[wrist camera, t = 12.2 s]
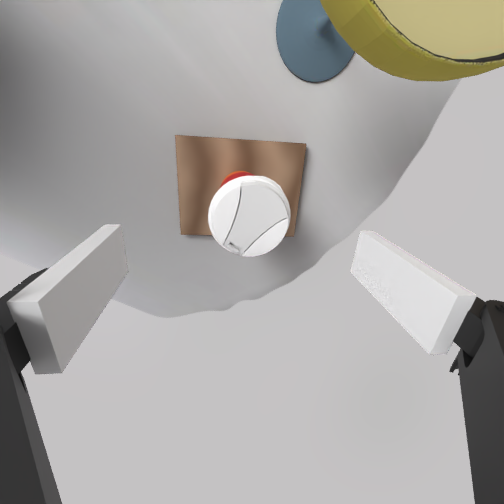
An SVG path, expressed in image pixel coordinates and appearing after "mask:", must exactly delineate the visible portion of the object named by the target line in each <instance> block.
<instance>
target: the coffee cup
mask: <svg viewBox="0 0 504 504" xmlns="http://www.w3.org/2000/svg"><path fill="white" fill-rule="evenodd" d="M290 217H291V214H290V206H289V202H288V200H287V197H286V196H285V194H284V192H283V191H282V189H281V187H280V185H278V184H277V183H276V182H275V181H273V180H271V179H270V178H267V177H265V176H255V175H253V174H251V173H249V172H246V171H235V172H232V173H230V174H229V175H227V176H226V177H225V179H224V180H223V182H222V183H221V186H220V188H219V190H218V191H217V193H216V194H215V195H214V197H213V199H212V201H211V204H210V207H209V212H208V222H209V228H210V230H211V233H212V235H213V237H214V238H215V240H216V241H217V242H218V243H219V244H220V245H221V246H222V247H223V248H224V249H226V250H228V251H229V252H232V253H234V254H237V255H241V256H245V257H254V256H259V255H263V254H265V253H267V252H269V251H271V250H272V249H274V248H275V247H276V246H277V245H278V244H279V243H280V242H281V241H282V239H283V238H284V236H285V234H286V232H287V230H288V227H289V224H290Z"/></svg>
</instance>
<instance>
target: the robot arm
mask: <svg viewBox="0 0 504 504" xmlns="http://www.w3.org/2000/svg"><path fill="white" fill-rule="evenodd" d="M350 272H351V273H352V274H353V276H354V277H355V278H356V279H357V280H358V281H359V282H360V283H361V284H362V285H363V286H364V287H365V288H366V289H367V290H368V291H369V292H370V293H371V294H372V295H373V296H374V297H375V299H376V300H377V301H378V302H379V303H380V304H381V305H382V306H383V307H384V308H385V309H386V310H387V311H388V312H389V313H390V314H391V315H392V316H393V317H394V318H395V319H396V320H397V322H398V323H399V324H400V325H401V326H402V327H403V328H404V329H405V330H406V331H407V332H408V333H409V334H410V335H411V336H412V337H413V338H414V339H415V340H416V341H417V342H418V343H419V344H420V345H421V346H422V348H423V349H424V350H425V351H426V352H427V353H428V354H429V355H440V354H447V353H448V351H449V349H450V347H451V345H452V343H453V342H455V343H456V344H457V345H458V346H459V347H460V348H461V349H460V351H459V353H458V355H457V357H456V359H455V360H454V362H453V364H452V366H451V368H450V372H453V371H454V370H455V369H458V368H459V373H458V375H459V376H460V385H461V393H462V401H463V409H464V417H465V425H466V433H467V442H468V450H469V458H470V466H471V474H472V482H473V491H474V499H475V504H504V302H501V301H497V300H489V301H486V302H484V301H483V300H481V299H480V298H478V297H477V295H476V294H474V293H472V292H471V291H469V290H467V289H466V288H464V287H463V286H461V285H459V284H458V283H456V282H455V281H453V280H451V279H450V278H448V277H447V276H445V275H443V274H442V273H440V272H439V271H437V270H435V269H434V268H432V267H430V266H429V265H427V264H426V263H424V262H422V261H421V260H419V259H418V258H416V257H414V256H413V255H411V254H410V253H408V252H406V251H405V250H403V249H402V248H400V247H398V246H397V245H395V244H394V243H392V242H390V241H388V240H387V239H385V238H384V237H382V236H381V235H379V234H377V233H376V232H374V231H362V230H361V232H360V235H359V239H358V243H357V247H356V251H355V255H354V259H353V263H352V266H351V270H350ZM127 273H128V266H127V259H126V253H125V246H124V240H123V233H122V227H121V225H117V224H105V225H104V226H102V227H101V228H100V229H98V230H97V231H96V232H95V233H93V234H92V235H91V236H90V237H88V238H87V239H86V240H85V241H83V242H82V243H81V244H79V245H78V246H77V247H76V248H74V249H73V250H72V251H71V252H69V253H68V254H67V255H65V256H64V257H63V258H62V259H60V260H59V261H58V262H57V263H55V264H54V265H53V266H52V267H50V268H45V269H43V270H41V271H39V272H37V273H34V274H32V275H31V276H29V277H28V278H26V279H25V280H24V281H23V282H21V284H18V285H17V286H16V287H14V288H13V289H12V291H9V292H8V293H7V294H5V295H4V296H2V297H1V298H0V504H62V502H61V499H60V495H59V492H58V489H57V485H56V482H55V479H54V476H53V473H52V469H51V466H50V462H49V459H48V456H47V453H46V449H45V446H44V443H43V440H42V436H41V433H40V430H39V427H38V424H37V420H36V417H35V413H34V410H33V407H32V404H31V400H30V397H29V394H28V391H27V387H26V384H25V381H24V378H23V376H22V374H21V371H22V370H23V368H24V367H25V366H26V364H27V363H28V362H29V361H30V362H31V365H32V367H33V369H34V372H35V374H53V373H62V372H63V371H64V369H65V368H66V366H67V365H68V363H69V362H70V360H71V358H72V357H73V355H74V354H75V352H76V351H77V349H78V348H79V346H80V345H81V343H82V342H83V340H84V339H85V337H86V336H87V334H88V333H89V331H90V330H91V328H92V326H93V325H94V324H95V322H96V320H97V319H98V317H99V316H100V314H101V313H102V311H103V310H104V308H105V307H106V305H107V304H108V302H109V301H110V299H111V298H112V296H113V295H114V293H115V292H116V290H117V289H118V287H119V285H120V284H121V282H122V281H123V279H124V278H125V276H126V275H127Z"/></svg>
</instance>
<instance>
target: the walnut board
mask: <svg viewBox="0 0 504 504" xmlns="http://www.w3.org/2000/svg"><path fill="white" fill-rule="evenodd" d="M175 141H176V158H177V176H178V193H179V211H180V228H181V235H212V233H211V230H210V228H209V222H208V212H209V207H210V204H211V201H212V199H213V197H214V195H215V194H216V193H217V191H218V190H219V188H220V186H221V183H222V182H223V180H224V179H225V177H226V176H227V175H229V174H230V173H232V172H235V171H246V172H249V173H251V174H253V175H255V176H265V177H267V178H270V179H271V180H273V181H275V182H276V183H277V184H278V185H280V187H281V189H282V191H283V192H284V194H285V196H286V197H287V200H288V202H289V206H290V214H291V217H290V224H289V227H288V230H287V232H286V234H285V236H290V237H294V231H295V224H296V217H297V209H298V202H299V195H300V188H301V180H302V173H303V166H304V158H305V151H306V144H303V143H288V142H273V141H258V140H242V139H227V138H212V137H197V136H182V135H175Z"/></svg>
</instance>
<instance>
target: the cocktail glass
mask: <svg viewBox="0 0 504 504" xmlns="http://www.w3.org/2000/svg"><path fill="white" fill-rule="evenodd" d="M276 37H277V44H278V49H279V52H280V55H281V57H282V59H283V61H284V63H285V65H286V66H287V68H288V69H289V70H290V71H291V72H292V73H293V74H294V75H296V76H297V77H299V78H301V79H303V80H305V81H310V82H319V81H324V80H327V79H330V78H332V77H333V76H335V75H337V74H338V73H339V72H340V71H341V70H342V69H343V68H344V67H345V66H346V65H347V63H348V62H349V61H350V59H351V57H352V55H353V53H354V51H355V52H356V53H357V54H359V55H360V56H361V57H362V58H364V59H365V60H366V61H367V62H369V63H370V64H371V65H373V66H374V67H376V68H378V69H380V70H383V71H385V72H387V73H389V74H391V75H393V76H397V77H401V78H405V79H410V80H414V81H448V80H453V79H459V78H464V77H469V76H475V75H479V74H482V73H485V72H488V71H491V70H493V69H496V68H499V67H502V66H504V0H283V2H282V4H281V7H280V10H279V13H278V18H277V25H276Z"/></svg>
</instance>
